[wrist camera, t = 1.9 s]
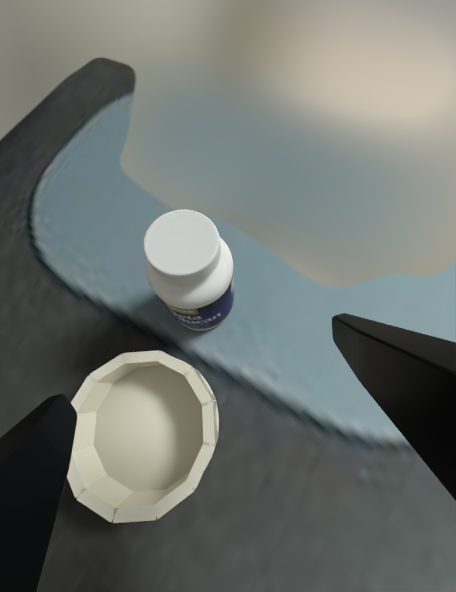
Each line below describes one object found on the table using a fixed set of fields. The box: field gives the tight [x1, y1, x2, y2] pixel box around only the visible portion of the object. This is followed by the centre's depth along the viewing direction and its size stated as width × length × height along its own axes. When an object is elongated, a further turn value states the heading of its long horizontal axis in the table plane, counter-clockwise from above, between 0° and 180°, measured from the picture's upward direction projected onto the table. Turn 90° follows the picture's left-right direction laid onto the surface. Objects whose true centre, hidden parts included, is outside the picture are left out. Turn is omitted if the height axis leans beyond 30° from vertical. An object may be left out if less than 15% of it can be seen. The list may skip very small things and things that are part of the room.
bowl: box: [67, 350, 219, 523], centre depth 18 cm, size 10×10×4 cm
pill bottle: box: [144, 210, 234, 331], centre depth 18 cm, size 5×5×10 cm
